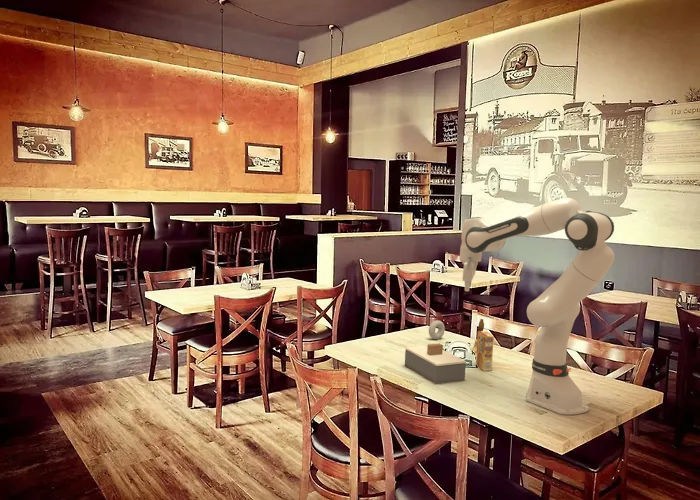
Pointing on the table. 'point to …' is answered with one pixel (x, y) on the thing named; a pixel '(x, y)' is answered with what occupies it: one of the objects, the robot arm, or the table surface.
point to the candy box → (484, 350)
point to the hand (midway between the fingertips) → (467, 289)
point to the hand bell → (481, 327)
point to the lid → (435, 355)
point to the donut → (440, 329)
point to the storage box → (435, 369)
